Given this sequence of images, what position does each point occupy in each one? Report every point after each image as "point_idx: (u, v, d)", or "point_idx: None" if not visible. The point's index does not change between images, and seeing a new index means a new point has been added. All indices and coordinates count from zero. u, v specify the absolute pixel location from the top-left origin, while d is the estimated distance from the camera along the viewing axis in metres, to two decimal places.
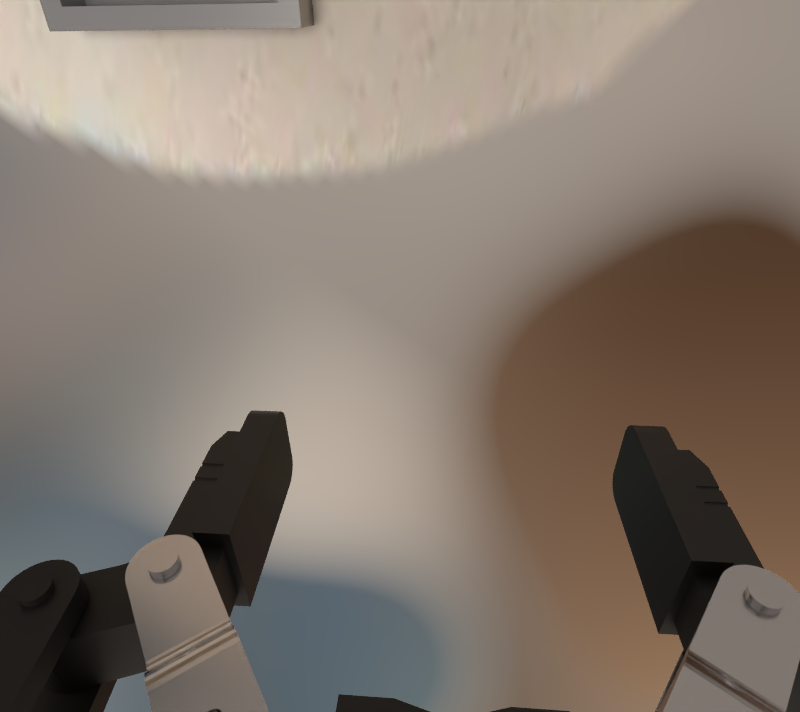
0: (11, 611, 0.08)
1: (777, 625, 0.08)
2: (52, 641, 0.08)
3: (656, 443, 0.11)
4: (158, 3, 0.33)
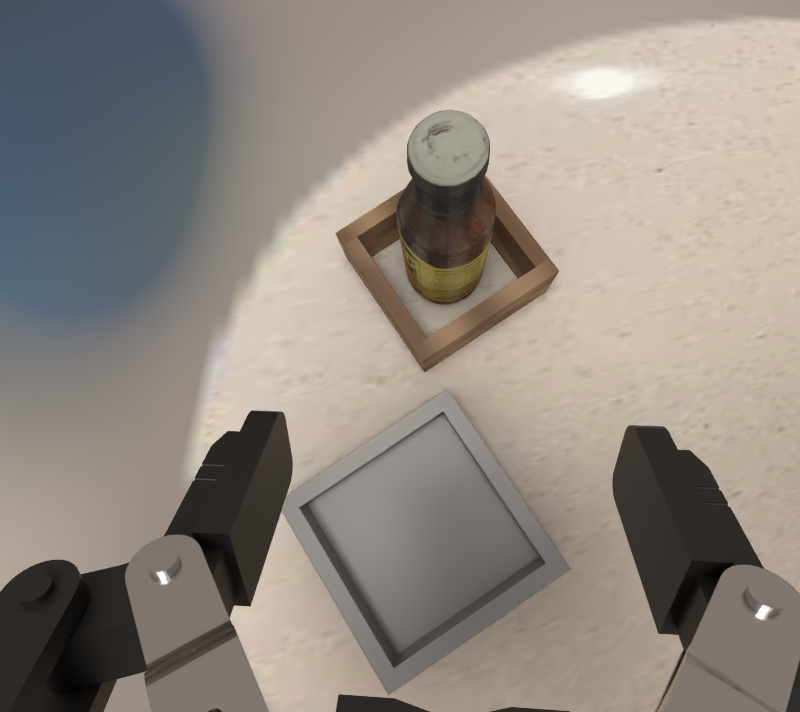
0: (11, 611, 0.08)
1: (777, 625, 0.08)
2: (52, 641, 0.08)
3: (656, 443, 0.11)
4: (339, 557, 0.41)
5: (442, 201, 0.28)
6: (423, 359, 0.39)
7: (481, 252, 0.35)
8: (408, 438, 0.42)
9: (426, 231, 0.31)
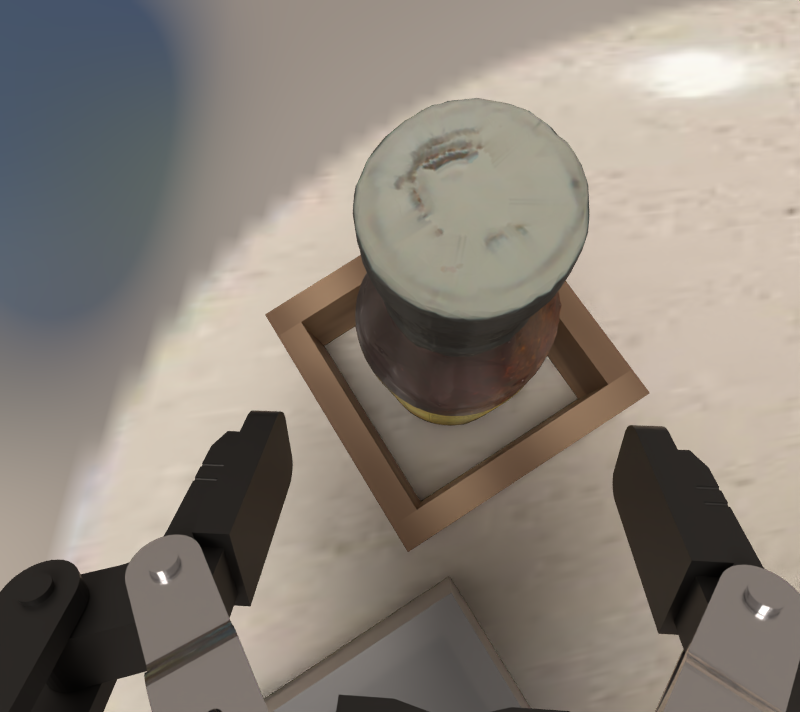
0: (11, 611, 0.08)
1: (777, 625, 0.08)
2: (52, 641, 0.08)
3: (656, 443, 0.11)
4: None
5: (449, 334, 0.11)
6: (409, 548, 0.22)
7: (522, 385, 0.18)
8: None
9: (412, 366, 0.14)
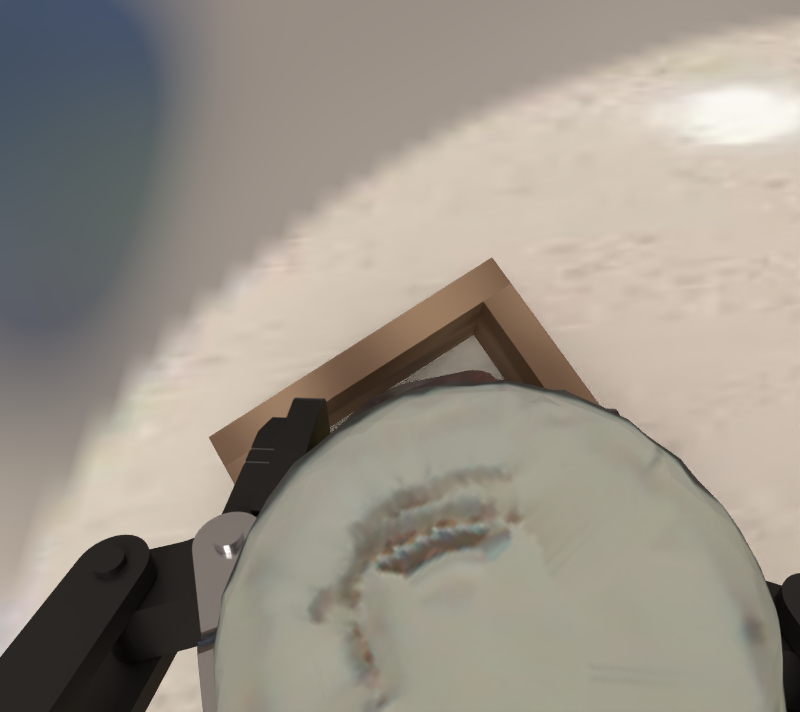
0: (86, 579, 0.09)
1: None
2: (117, 615, 0.08)
3: None
4: None
5: None
6: None
7: None
8: None
9: None
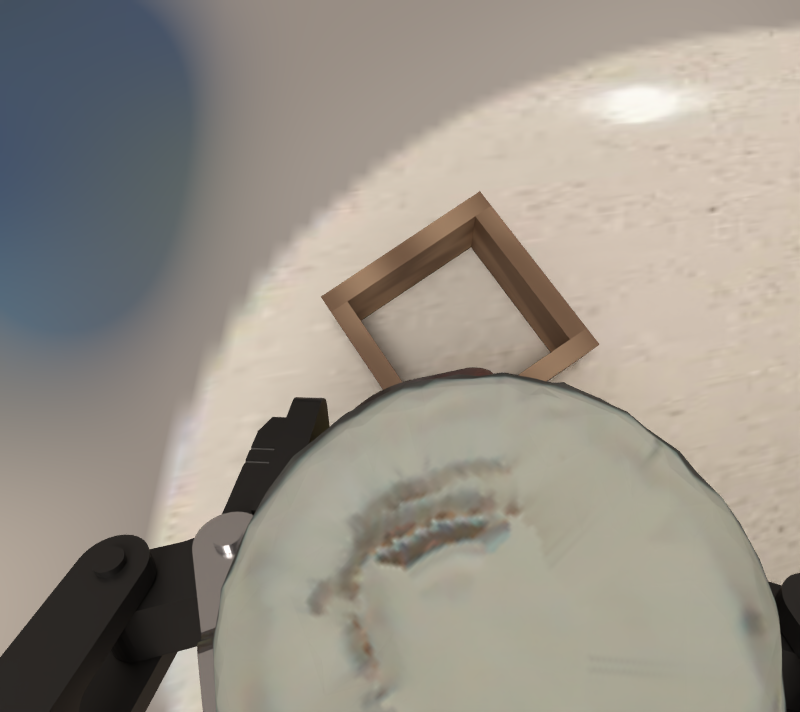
0: (86, 579, 0.09)
1: None
2: (117, 615, 0.08)
3: None
4: None
5: None
6: None
7: None
8: None
9: None
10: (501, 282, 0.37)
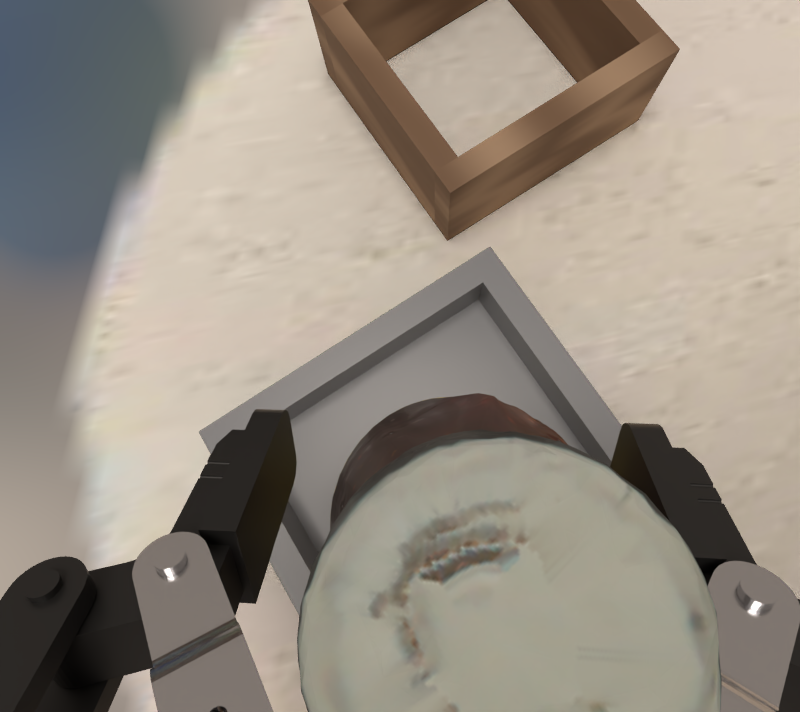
0: (19, 607, 0.08)
1: (769, 620, 0.08)
2: (58, 638, 0.08)
3: (651, 441, 0.11)
4: (305, 528, 0.25)
5: None
6: (451, 190, 0.23)
7: None
8: (422, 337, 0.26)
9: None
10: (540, 25, 0.29)
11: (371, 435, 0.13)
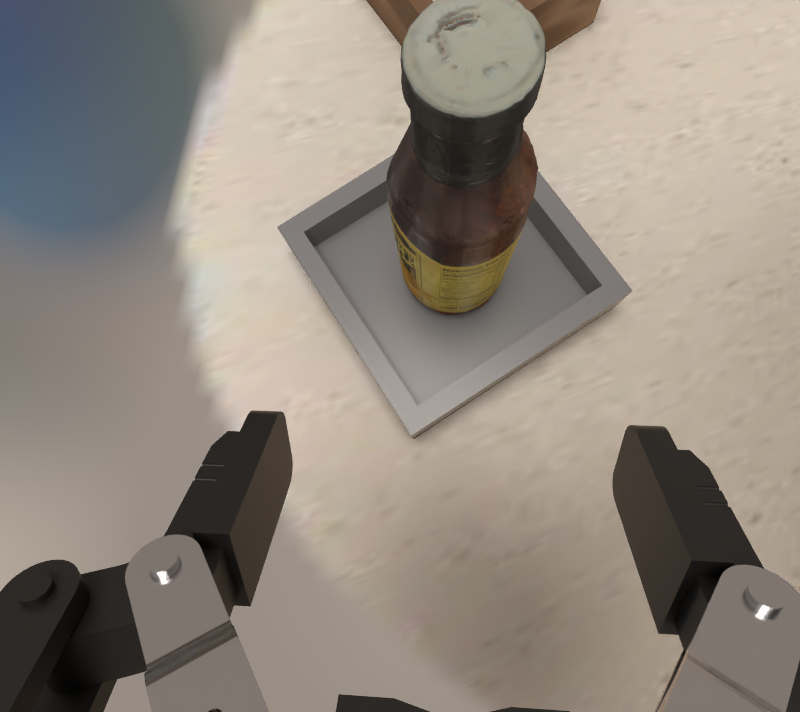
0: (11, 611, 0.08)
1: (777, 625, 0.08)
2: (52, 642, 0.08)
3: (656, 443, 0.11)
4: (350, 303, 0.34)
5: (460, 151, 0.17)
6: None
7: (511, 242, 0.24)
8: None
9: (431, 207, 0.20)
10: None
11: None
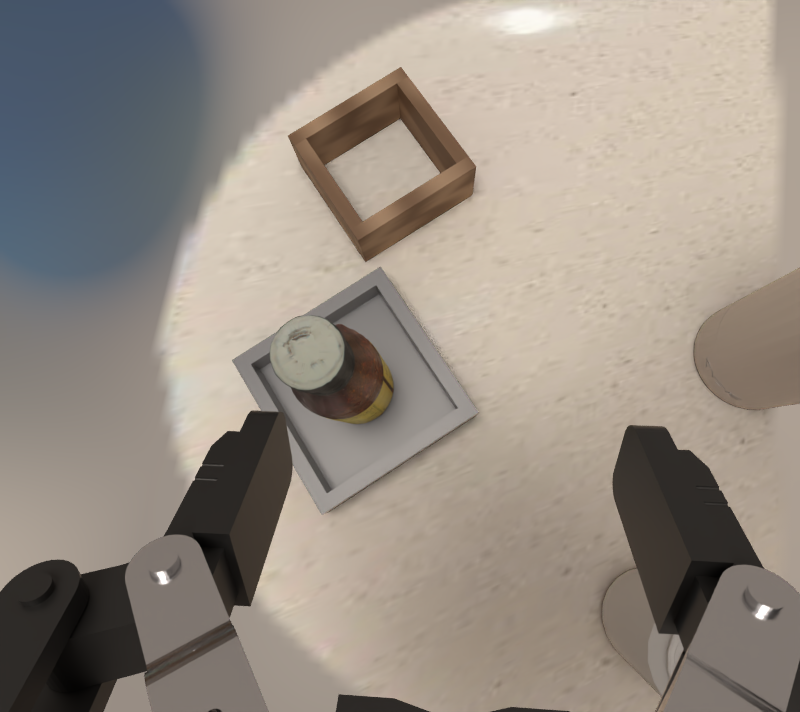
0: (11, 611, 0.08)
1: (777, 625, 0.08)
2: (51, 641, 0.08)
3: (656, 443, 0.11)
4: (286, 412, 0.47)
5: None
6: (358, 238, 0.46)
7: (371, 404, 0.37)
8: (348, 314, 0.49)
9: (308, 398, 0.33)
10: (419, 140, 0.52)
11: None
